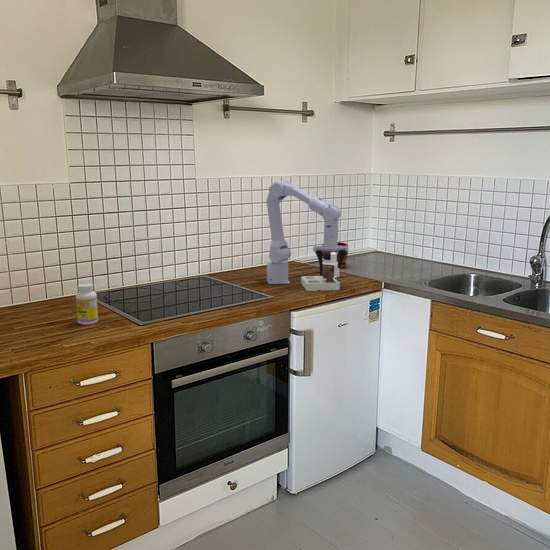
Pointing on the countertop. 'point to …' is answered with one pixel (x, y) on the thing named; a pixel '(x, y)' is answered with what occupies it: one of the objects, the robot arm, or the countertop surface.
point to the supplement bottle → (86, 305)
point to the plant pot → (337, 253)
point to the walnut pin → (329, 277)
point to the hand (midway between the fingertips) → (330, 268)
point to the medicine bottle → (330, 263)
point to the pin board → (319, 282)
